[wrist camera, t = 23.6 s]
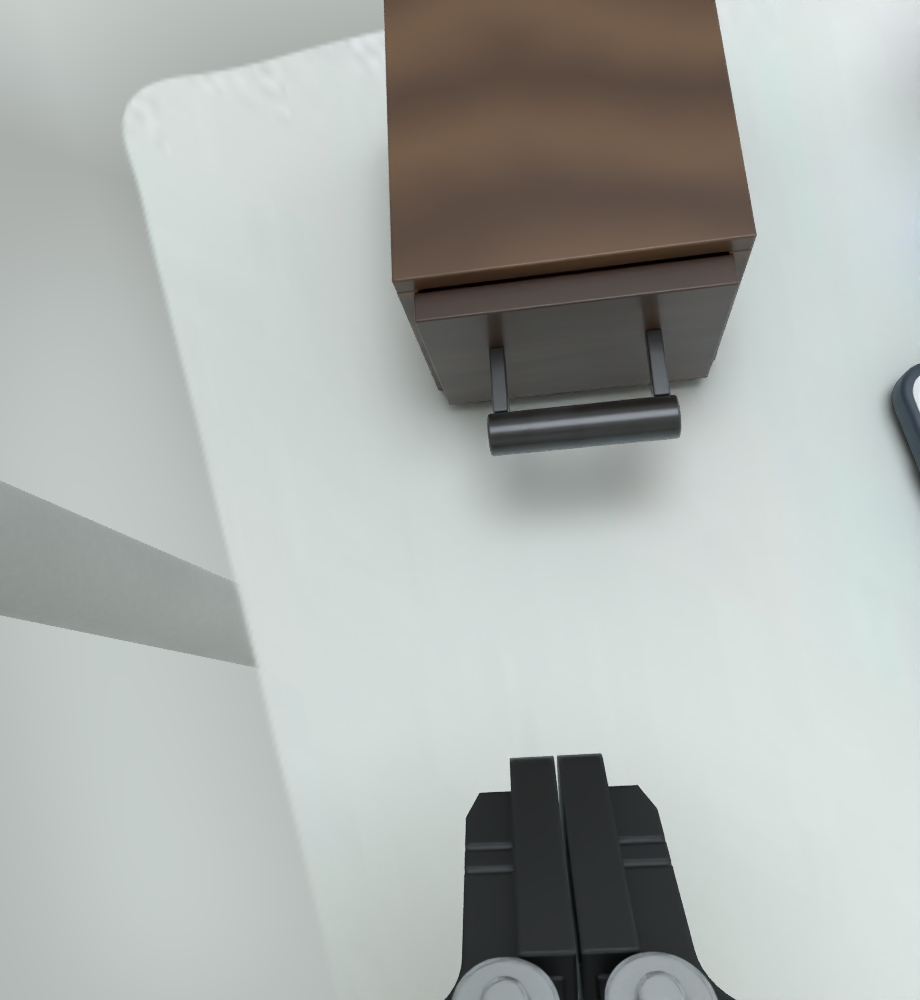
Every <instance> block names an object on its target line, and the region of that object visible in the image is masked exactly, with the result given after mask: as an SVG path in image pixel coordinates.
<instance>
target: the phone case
mask: <svg viewBox="0 0 920 1000" xmlns="http://www.w3.org/2000/svg"><path fill="white" fill-rule="evenodd" d="M892 403H893V406H894V409H895V412H896V414H897V417H898V419H899V422H900V424H901V427H902V429H903V432H904V434H905V437H906V439H907V442H908V444H909V447H910V449H911V452H912V454H913V457H914V459H915V462H916V464H917V467H918V470H919V472H920V364H917V365H915V366H913V367H912V368H910V369H909V370H908V371H907V372H906V373H905V374H904V375H903V376H902V377H901V378H900V379H899V380H898V382H897V383H896V385H895V387H894V389H893V393H892Z"/></svg>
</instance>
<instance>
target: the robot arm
mask: <svg viewBox="0 0 920 1000" xmlns="http://www.w3.org/2000/svg"><path fill="white" fill-rule="evenodd" d="M557 771H558V790H557V781H556V772H555V764H554V757H553V756H543V757H523V758H510V776H511V791H509V792H488V793H479V795H478V797H477V799H476V800H475V802H474V804H473V806H472V808H471V810H470V811H469V813H468V815H467V817H466V836H465V874H464V907H463V943H462V964H461V970H460V974H459V977H458V980H457V982H456V984H455V986H454V988H453V989H452V991H451V992H450V994H449V995H448V997H447V998H446V999H445V1000H735V999H734V998H732V997H731V996H729V995H728V994H726V993H725V992H724V991H722V990H721V989H720V988H719V987H718V986H716V985H715V983H714V982H713V981H712V980H711V979H710V978H709V977H708V975H707V974H706V973H705V971H704V970H703V968H702V967H701V965H700V963H699V961H698V959H697V956H696V953H695V950H694V946H693V942H692V938H691V935H690V931H689V927H688V923H687V920H686V916H685V912H684V908H683V904H682V901H681V897H680V893H679V889H678V885H677V882H676V878H675V874H674V870H673V867H672V866H671V859H670V855H669V851H668V848H667V844H666V842H665V836H664V832H663V829H662V825H661V821H660V817H659V814H658V810H657V808H656V807H655V805H654V804H653V803H652V802H651V801H650V799H649V798H648V797H647V796H646V795H645V793H644V792H643V791H642V790H641V789H640V787H639V786H638V785H632V786H610V787H608V783H607V777H606V772H605V767H604V762H603V758H602V754H601V753H599V754H579V755H559V756H557ZM558 791H559V799H558Z"/></svg>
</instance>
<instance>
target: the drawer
mask: <svg viewBox="0 0 920 1000" xmlns="http://www.w3.org/2000/svg"><path fill="white" fill-rule="evenodd" d="M700 256H701V255H694V256H686V257H678V258H670V259H662V260H654V261H645V262H637V263H629V264H627V267H626V268H618V269H610V270H602V271H594V272H586V273H578V274H569V275H561V276H553V277H545V278H537V279H529V280H521V281H513V282H512V281H511V278H509V279H501V280H493V281H485V282H477V283H469V284H461V285H453V286H445V287H440V288H441V290H440V291H432V292H424V293H416V294H414V316H415V323H416V326H417V328H418V331H419V333H420V335H421V338H422V340H423V343H424V345H425V347H426V350H427V352H428V355H429V357H430V359H431V362H432V364H433V367H434V369H435V371H436V374H437V376H438V379H439V381H440V383H441V386H442V388H443V391H444V393H445V395H446V398H447V400H448V403H449V404H450V405H451V404H460V403H470V402H479V401H489V400H492V405H493V413H494V414H489V415H488V418H487V427H488V439H489V446H490V451H491V454H492V455H493V456H499V455H509V454H520V453H530V452H540V451H551V450H561V449H571V448H582V447H592V446H602V445H613V444H623V443H633V442H644V441H654V440H664V439H675V438H679V437H680V433H681V414H680V406H679V401H678V398H677V396H675V395H670V388H669V381H678V380H688V379H697V378H706V377H707V376H708V373H709V370H710V367H711V364H712V361H713V358H714V355H715V352H716V349H717V346H718V343H719V341H720V338H721V335H722V332H723V329H724V326H725V323H726V320H727V317H728V314H729V311H730V308H731V305H732V302H733V299H734V296H735V293H736V290H737V287H738V284H739V280H738V274H737V268H736V262H735V256H734V255H733V254H731V255H723V256H715V257H707V258H700ZM650 383H651V391H652V397H649V398H639V399H630V400H620V401H610V402H601V403H591V404H581V405H572V406H562V407H552V408H543V409H533V410H523V411H514V412H509V398H517V397H527V396H536V395H546V394H555V393H565V392H574V391H584V390H593V389H602V388H612V387H621V386H631V385H640V384H650Z"/></svg>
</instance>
